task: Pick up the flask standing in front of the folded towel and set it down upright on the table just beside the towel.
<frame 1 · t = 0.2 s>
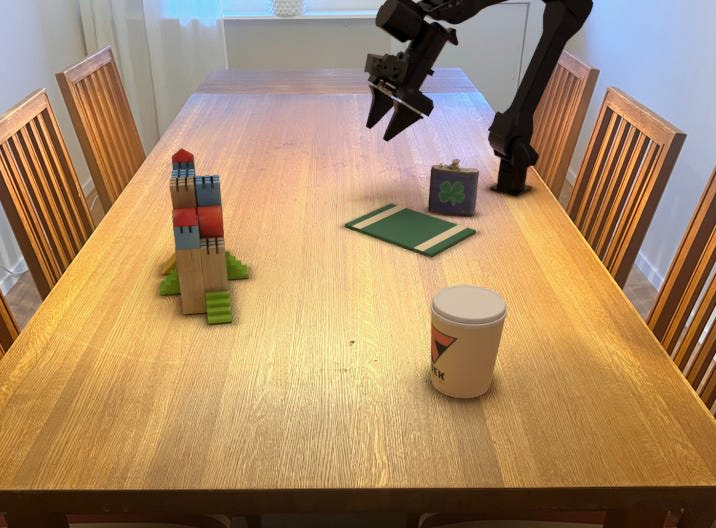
hand: (376, 134, 140), 15 cm above the table, tool tilted 30°, fingers open, 9 cm apart
flask: (450, 213, 146), on the table
coffee cup: (460, 382, 98), on the table
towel: (409, 229, 139), on the table
block set: (205, 282, 122), on the table
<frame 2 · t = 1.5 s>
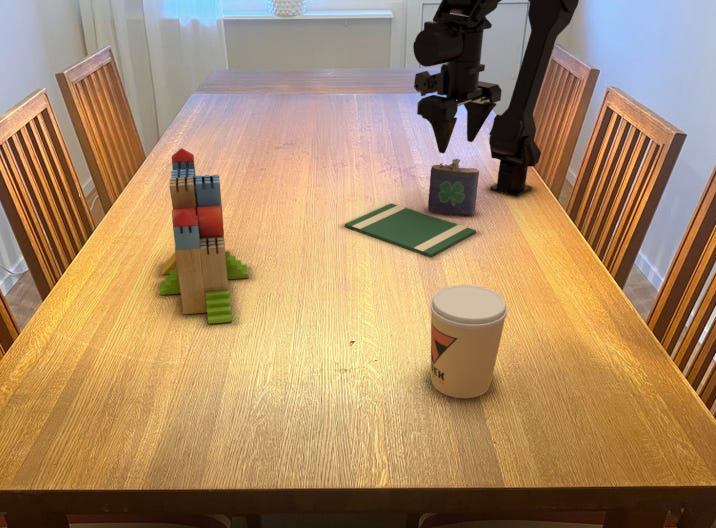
hand: (456, 147, 139), 13 cm above the table, tool pointing down, fingers open, 9 cm apart
nothing on the table moved.
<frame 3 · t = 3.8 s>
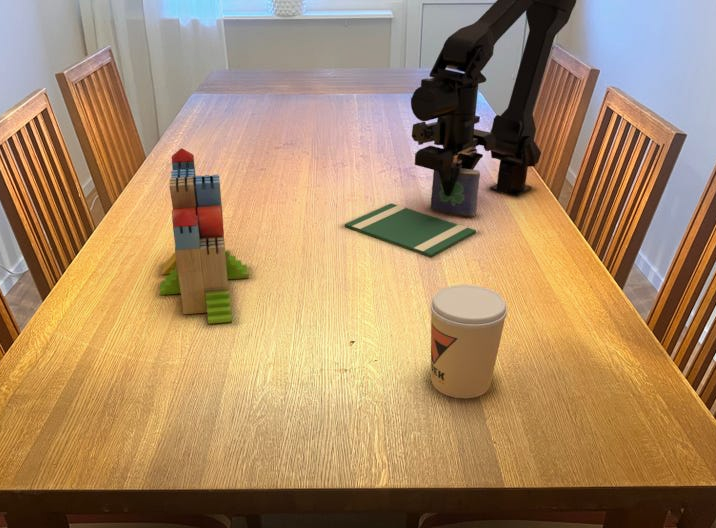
hand: (452, 193, 144), 4 cm above the table, tool pointing down, fingers closed on flask, 3 cm apart
flask: (452, 213, 146), on the table, touching gripper
everything else where it was.
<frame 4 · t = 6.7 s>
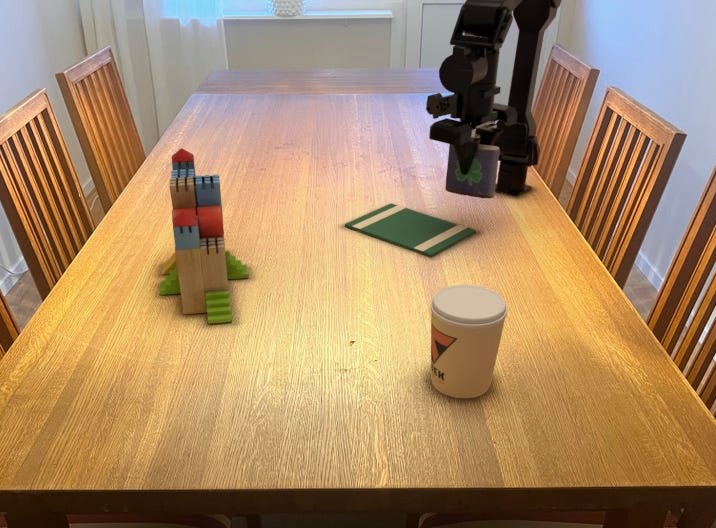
hand: (469, 171, 133), 11 cm above the table, tool pointing down, fingers closed on flask, 3 cm apart
flask: (468, 194, 135), point 7 cm above the table, touching gripper
everything else where it was.
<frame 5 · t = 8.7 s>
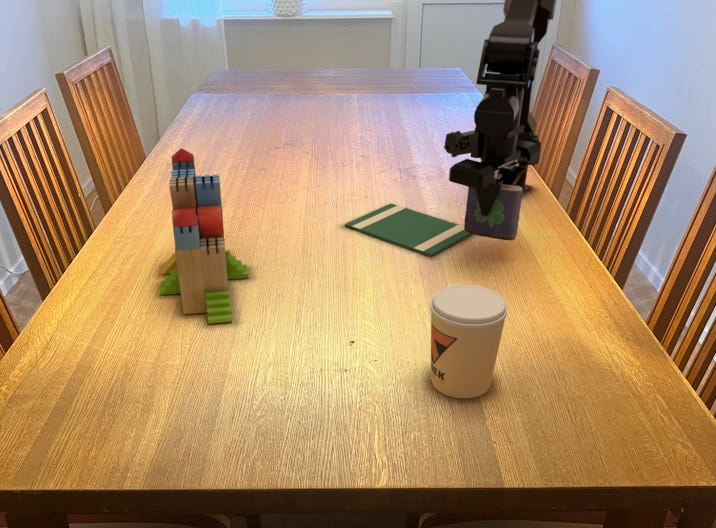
hand: (490, 212, 126), 8 cm above the table, tool pointing down, fingers closed on flask, 3 cm apart
flask: (489, 235, 128), point 4 cm above the table, touching gripper
everything else where it was.
when the fingers open (4 cm above the table, at t = 10.1 s): flask stays where it is, on the table.
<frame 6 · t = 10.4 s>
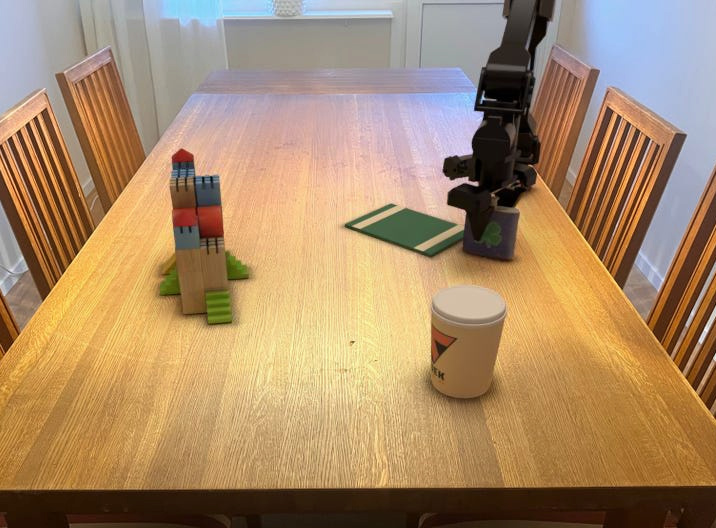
hand: (487, 234, 128), 4 cm above the table, tool pointing down, fingers open, 6 cm apart
flask: (486, 256, 130), on the table
everything else where it was.
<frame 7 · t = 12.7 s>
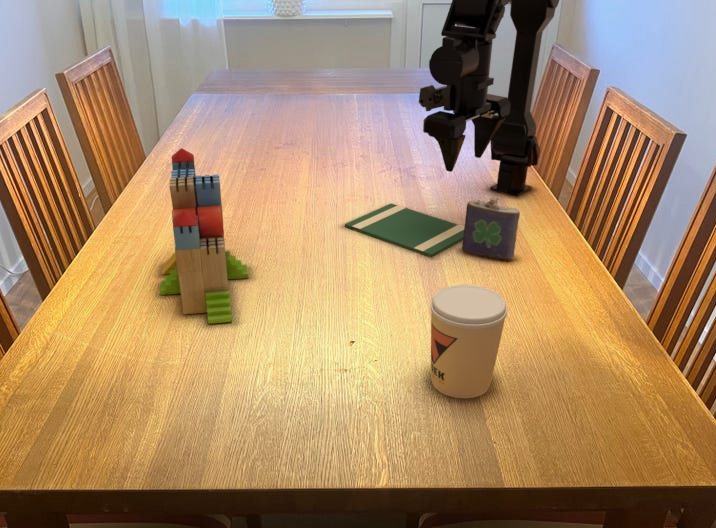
hand: (463, 164, 132), 13 cm above the table, tool pointing down, fingers open, 9 cm apart
nothing on the table moved.
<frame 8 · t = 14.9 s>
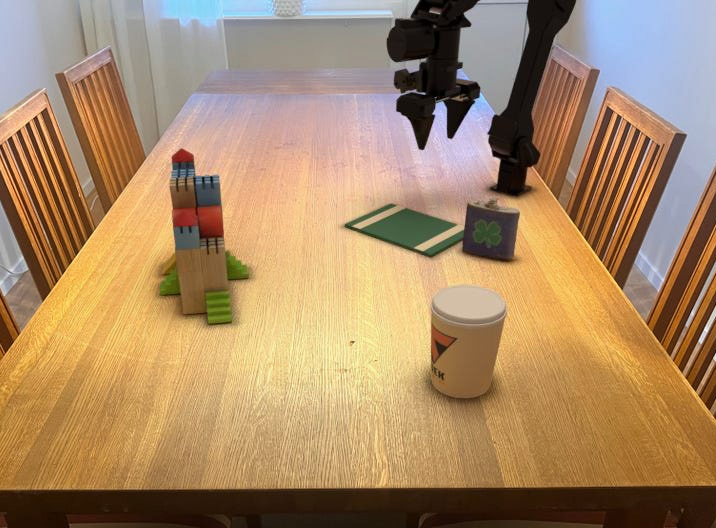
hand: (435, 143, 140), 13 cm above the table, tool pointing down, fingers open, 9 cm apart
nothing on the table moved.
at the end: flask inside the target area on the table beside the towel (0.3 cm from its centre), on the table; flask tilted 0°; flask touching table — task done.
